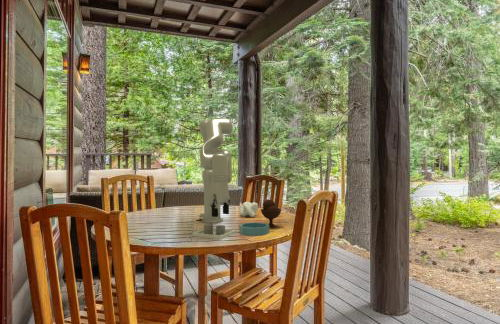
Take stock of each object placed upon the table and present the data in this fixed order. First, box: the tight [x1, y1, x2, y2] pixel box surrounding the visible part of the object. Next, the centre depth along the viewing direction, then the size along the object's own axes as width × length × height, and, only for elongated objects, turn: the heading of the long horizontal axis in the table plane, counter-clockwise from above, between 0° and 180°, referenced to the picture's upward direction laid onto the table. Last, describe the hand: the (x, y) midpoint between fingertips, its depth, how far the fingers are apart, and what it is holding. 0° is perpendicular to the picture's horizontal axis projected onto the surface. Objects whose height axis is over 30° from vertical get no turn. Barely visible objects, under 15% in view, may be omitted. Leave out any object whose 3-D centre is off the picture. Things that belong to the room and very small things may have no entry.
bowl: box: [238, 221, 270, 237], centre depth 178 cm, size 14×14×4 cm
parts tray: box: [192, 227, 237, 240], centre depth 174 cm, size 16×14×2 cm
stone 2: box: [215, 224, 226, 236], centre depth 172 cm, size 4×4×4 cm
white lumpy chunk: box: [239, 201, 259, 218], centre depth 228 cm, size 11×12×9 cm
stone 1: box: [203, 223, 214, 235], centre depth 175 cm, size 4×4×4 cm
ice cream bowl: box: [260, 199, 282, 229], centre depth 193 cm, size 11×11×15 cm
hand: (220, 215), depth 171 cm, fingers open, 9 cm apart
